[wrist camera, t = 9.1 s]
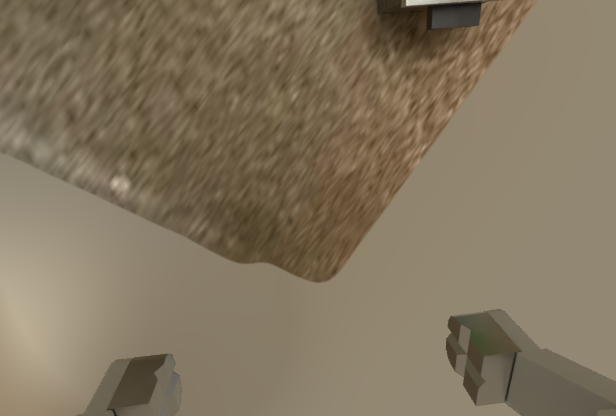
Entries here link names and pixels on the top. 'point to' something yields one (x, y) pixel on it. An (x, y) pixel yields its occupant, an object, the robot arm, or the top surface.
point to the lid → (436, 2)
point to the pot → (439, 13)
